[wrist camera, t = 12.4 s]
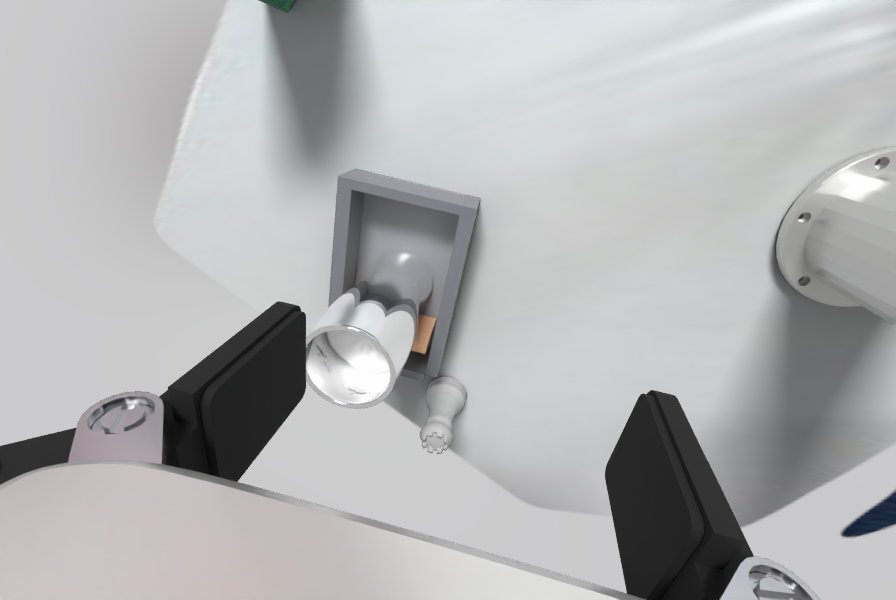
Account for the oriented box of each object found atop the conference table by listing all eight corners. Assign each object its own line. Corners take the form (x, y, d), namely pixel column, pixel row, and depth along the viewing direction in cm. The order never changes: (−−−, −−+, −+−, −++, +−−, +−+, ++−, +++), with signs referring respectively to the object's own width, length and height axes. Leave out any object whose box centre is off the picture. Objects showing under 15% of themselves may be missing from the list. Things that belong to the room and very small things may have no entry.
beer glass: (400, 323, 42) (347, 426, 29) (353, 272, 41) (274, 357, 27) (452, 287, 40) (419, 382, 26) (404, 231, 38) (344, 302, 25)
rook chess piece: (441, 367, 45) (427, 417, 37) (475, 388, 45) (467, 442, 38) (420, 392, 47) (402, 445, 39) (452, 412, 47) (441, 468, 40)
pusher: (436, 318, 41) (427, 345, 37) (424, 373, 44) (414, 404, 40) (355, 298, 42) (336, 322, 37) (349, 354, 45) (331, 382, 40)
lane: (480, 198, 36) (475, 212, 32) (443, 355, 44) (435, 383, 39) (355, 168, 37) (333, 178, 32) (340, 329, 44) (321, 354, 40)
